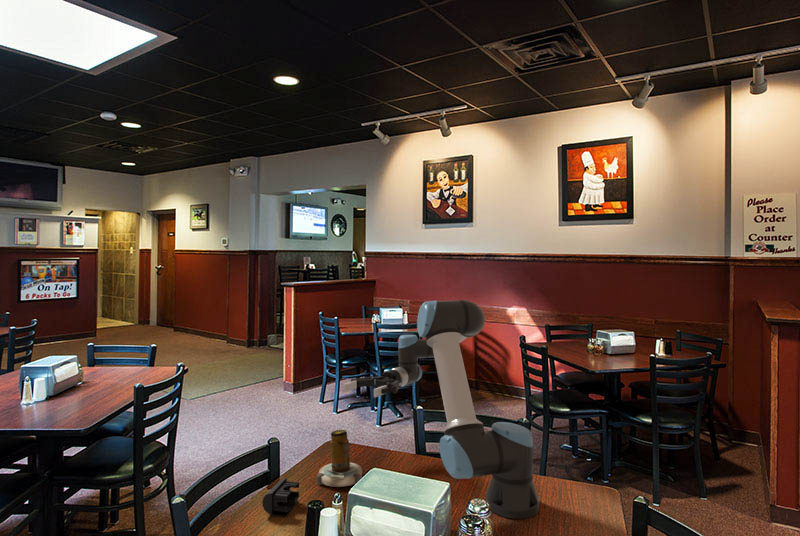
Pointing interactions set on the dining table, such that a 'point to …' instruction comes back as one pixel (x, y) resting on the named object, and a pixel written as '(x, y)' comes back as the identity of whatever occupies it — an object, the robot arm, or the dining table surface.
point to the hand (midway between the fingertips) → (358, 390)
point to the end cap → (281, 499)
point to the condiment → (340, 453)
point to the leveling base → (338, 476)
